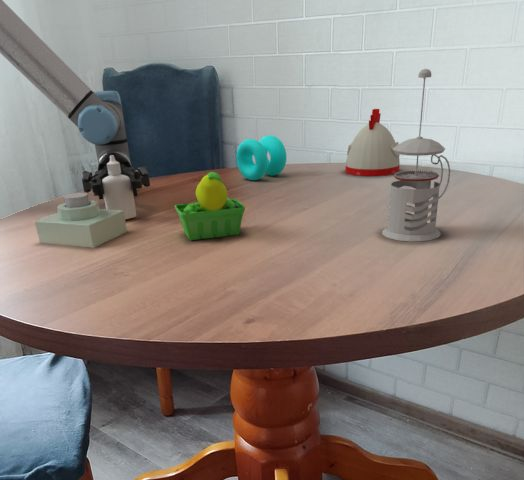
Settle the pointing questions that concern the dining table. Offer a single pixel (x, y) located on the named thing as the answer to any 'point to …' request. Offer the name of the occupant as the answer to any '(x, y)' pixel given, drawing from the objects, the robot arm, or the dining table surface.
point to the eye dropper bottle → (118, 190)
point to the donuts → (261, 157)
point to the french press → (415, 190)
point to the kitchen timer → (372, 150)
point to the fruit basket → (211, 211)
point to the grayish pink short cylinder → (76, 200)
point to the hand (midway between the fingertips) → (117, 190)
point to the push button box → (81, 226)
